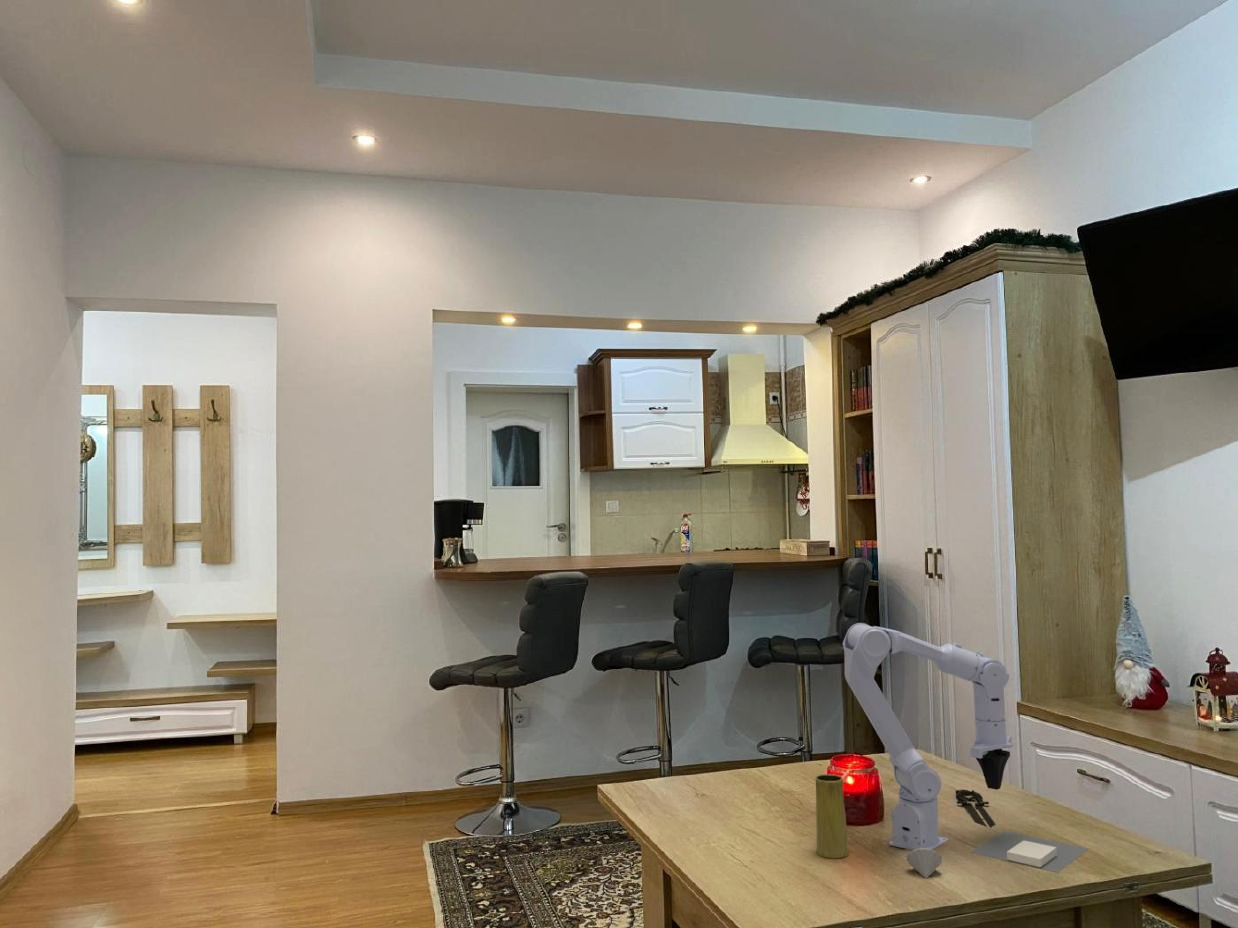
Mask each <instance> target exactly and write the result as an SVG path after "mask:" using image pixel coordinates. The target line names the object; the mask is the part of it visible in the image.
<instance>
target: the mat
mask: <svg viewBox="0 0 1238 928" xmlns="http://www.w3.org/2000/svg"><path fill="white" fill-rule="evenodd" d="M1023 840H1024V841H1029V842H1034V843H1038V844H1043V845H1048V846H1052V847H1057V855H1056V856H1055V857H1054V858H1053V859H1051V860H1050V861H1049V862H1047V863H1046V864H1045V865H1043V866H1042V867H1041V868H1039V867H1034V866H1030V865H1026V864H1021V863H1017V862H1013V861H1009V860H1007V851H1009V850H1010V849H1011V848H1013V847H1014V846H1016V845H1017V844H1019V843H1020V842H1022V841H1023ZM1088 850H1089V848H1088V847H1084V846H1079V845H1074V844H1069V843H1064V842H1059V841H1056V840H1055V841H1054V840H1050V839H1045V838H1041V837H1035V836H1031V835H1026V834H1022V833H1017V832H1012V831H1007V830H1003V831H1001V832H1000V833H998V834H996V835H995V836H994V837H992V838H990V839H988V840H987V841H985V842H984V843H982V844H981V845H979V846H978V847H975V848H974V849H973V850H971V851H970V852H969V853H970V854H975V855H979V856H983V857H988V858H992V859H996V860H1001V861H1006V862H1009V863H1014V864H1018V865H1022V866H1026V867H1032V868H1035V869H1039V870H1044V871H1049V872H1052V873H1057V874H1059V873H1060V872H1061V871H1062V870H1064V869H1065V868H1067V867H1068V866H1069V865H1070V864H1071V863H1073V862H1074V861H1075V860H1077V858H1079V857H1081V855H1083V854H1084V853H1085V852H1087V851H1088Z"/></svg>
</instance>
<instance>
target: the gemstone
mask: <svg viewBox="0 0 1238 928" xmlns="http://www.w3.org/2000/svg"><path fill="white" fill-rule="evenodd" d="M906 861H907V862H908V864H909V865H910V866H911V867H912V868H913V869H914V870H915V871H917V872H918V873H919V874H920V875H921V876H922V877H923V878H924V879H926V880H927V879H928V878H929V877H930V876H931V875H932V874H933V873H934V872H935V871H936V869H938V868H939V866H940V865H942V862H943V858H942V855H941V854H940V853H938V852H937V851H935V850H934V849H933V850H930V849H927V848H920V849H915V850H911V851H910V852H909V853H907V855H906Z"/></svg>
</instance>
